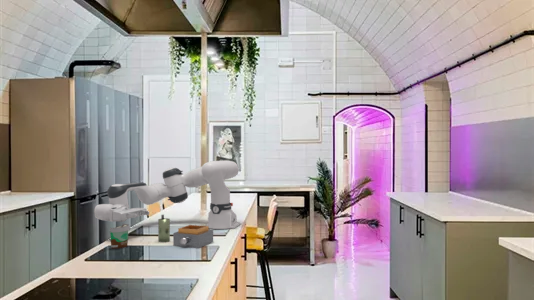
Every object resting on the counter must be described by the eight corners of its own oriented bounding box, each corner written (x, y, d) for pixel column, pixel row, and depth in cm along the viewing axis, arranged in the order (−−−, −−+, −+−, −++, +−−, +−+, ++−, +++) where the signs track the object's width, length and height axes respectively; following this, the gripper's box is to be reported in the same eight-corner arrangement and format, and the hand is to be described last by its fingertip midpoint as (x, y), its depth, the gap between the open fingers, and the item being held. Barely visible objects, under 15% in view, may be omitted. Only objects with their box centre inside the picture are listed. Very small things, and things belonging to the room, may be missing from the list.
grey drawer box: (188, 239, 229) (188, 224, 229) (213, 241, 224) (213, 225, 224) (169, 246, 213) (169, 229, 213) (195, 249, 208) (195, 232, 208)
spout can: (162, 239, 230) (162, 213, 229) (172, 240, 228) (171, 213, 227) (156, 241, 224) (156, 214, 224) (165, 242, 222) (165, 215, 222)
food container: (121, 250, 207) (121, 228, 206) (109, 249, 208) (109, 227, 208) (134, 244, 219) (134, 223, 218) (123, 243, 220) (123, 223, 220)
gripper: (133, 216, 245) (155, 217, 240) (107, 222, 226) (129, 223, 221) (133, 204, 245) (155, 205, 240) (107, 209, 226) (129, 210, 221)
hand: (142, 214), depth 230 cm, fingers open, 8 cm apart
